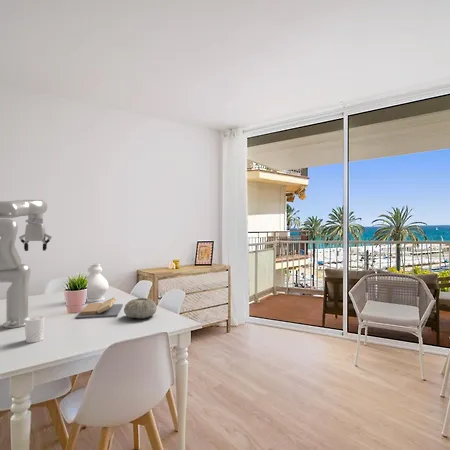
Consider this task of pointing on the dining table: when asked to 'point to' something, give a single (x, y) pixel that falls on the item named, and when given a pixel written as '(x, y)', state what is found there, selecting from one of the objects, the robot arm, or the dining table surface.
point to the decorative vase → (96, 283)
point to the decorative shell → (140, 308)
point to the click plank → (106, 305)
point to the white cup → (34, 328)
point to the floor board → (91, 312)
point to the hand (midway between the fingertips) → (35, 250)
